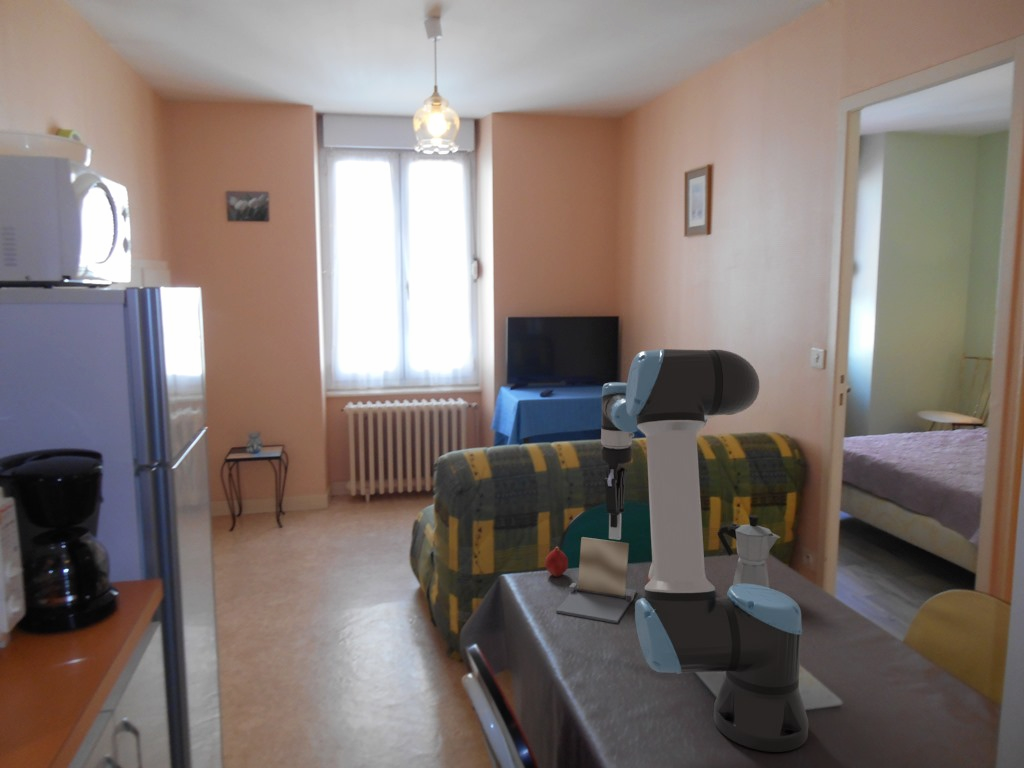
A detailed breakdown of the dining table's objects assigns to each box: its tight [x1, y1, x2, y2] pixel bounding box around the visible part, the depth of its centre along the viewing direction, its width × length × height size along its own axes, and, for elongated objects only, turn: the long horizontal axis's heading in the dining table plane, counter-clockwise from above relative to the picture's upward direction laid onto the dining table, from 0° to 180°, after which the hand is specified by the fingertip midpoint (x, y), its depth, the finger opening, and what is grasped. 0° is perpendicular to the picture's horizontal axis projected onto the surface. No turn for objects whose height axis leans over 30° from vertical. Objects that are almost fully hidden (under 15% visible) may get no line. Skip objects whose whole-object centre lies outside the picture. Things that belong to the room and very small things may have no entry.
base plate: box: [555, 584, 637, 624], centre depth 166 cm, size 18×14×1 cm
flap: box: [577, 536, 630, 599], centre depth 169 cm, size 13×12×1 cm
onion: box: [544, 546, 569, 578], centre depth 181 cm, size 6×6×8 cm
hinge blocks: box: [568, 582, 635, 603], centre depth 169 cm, size 2×15×1 cm, turn 67°
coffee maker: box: [716, 514, 781, 588], centre depth 175 cm, size 15×9×18 cm, turn 58°
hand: (614, 538), depth 179 cm, fingers closed
